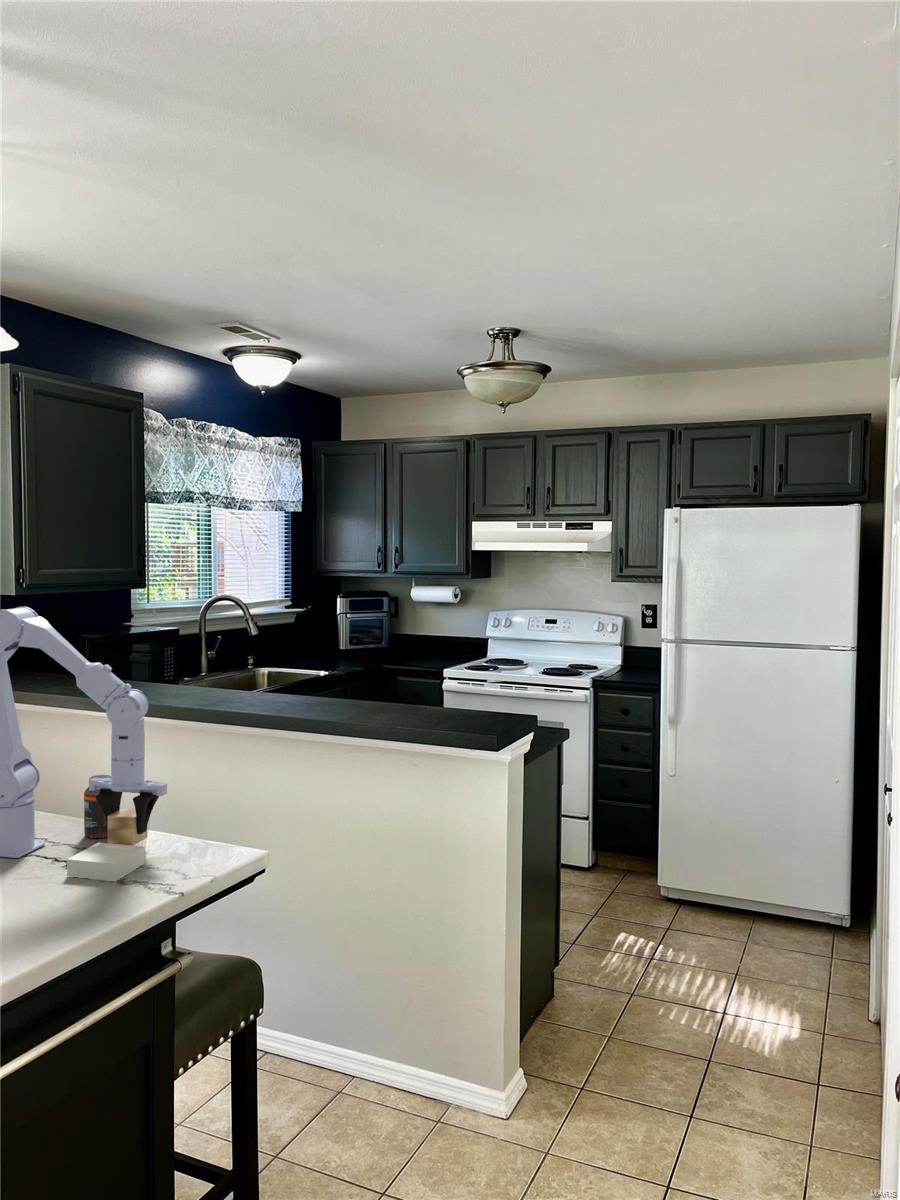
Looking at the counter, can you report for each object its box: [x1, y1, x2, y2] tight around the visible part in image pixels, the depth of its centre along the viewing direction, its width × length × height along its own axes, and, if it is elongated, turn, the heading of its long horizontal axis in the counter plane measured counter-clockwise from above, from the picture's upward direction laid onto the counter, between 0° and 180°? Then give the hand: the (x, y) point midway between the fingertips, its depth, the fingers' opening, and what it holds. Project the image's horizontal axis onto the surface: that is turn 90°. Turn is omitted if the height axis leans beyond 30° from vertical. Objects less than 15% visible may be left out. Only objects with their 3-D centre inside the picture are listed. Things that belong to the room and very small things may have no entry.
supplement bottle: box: [83, 774, 111, 839], centre depth 173 cm, size 6×6×11 cm
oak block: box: [107, 808, 149, 846], centre depth 164 cm, size 5×5×5 cm
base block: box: [66, 842, 146, 883], centre depth 154 cm, size 9×9×3 cm
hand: (127, 831), depth 165 cm, fingers closed on oak block, 5 cm apart
